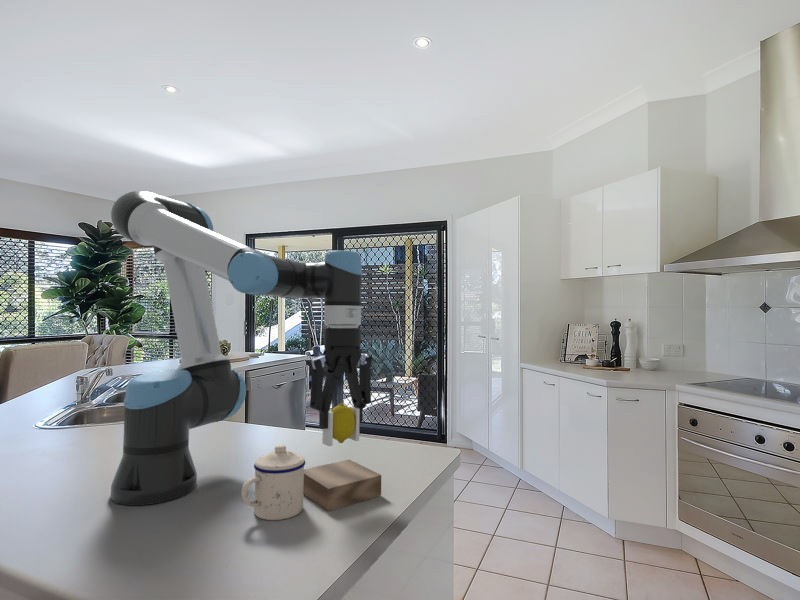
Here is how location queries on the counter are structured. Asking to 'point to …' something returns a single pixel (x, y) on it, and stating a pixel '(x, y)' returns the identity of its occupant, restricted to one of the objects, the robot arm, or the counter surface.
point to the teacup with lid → (277, 485)
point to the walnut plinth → (341, 484)
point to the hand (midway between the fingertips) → (341, 441)
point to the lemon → (342, 422)
